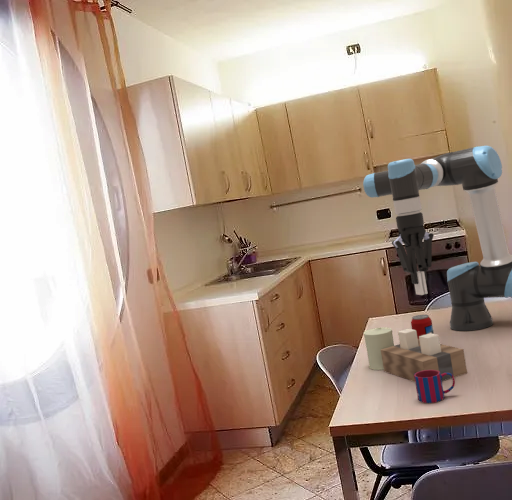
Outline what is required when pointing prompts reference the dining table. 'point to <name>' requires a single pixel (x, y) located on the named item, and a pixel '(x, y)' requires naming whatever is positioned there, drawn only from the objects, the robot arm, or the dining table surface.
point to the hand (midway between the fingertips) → (421, 293)
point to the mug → (431, 385)
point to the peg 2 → (430, 344)
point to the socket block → (423, 361)
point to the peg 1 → (408, 339)
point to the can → (377, 345)
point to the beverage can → (422, 325)
